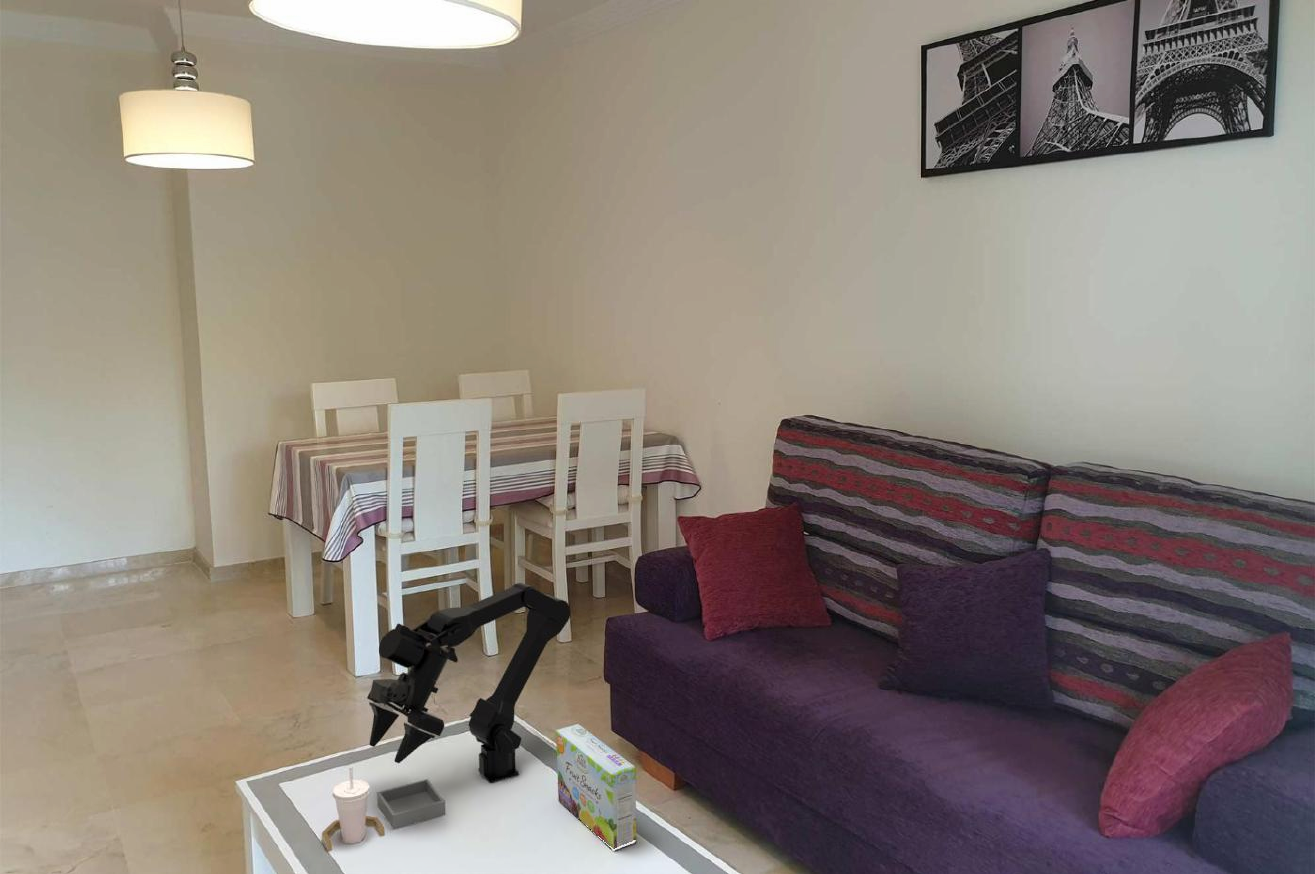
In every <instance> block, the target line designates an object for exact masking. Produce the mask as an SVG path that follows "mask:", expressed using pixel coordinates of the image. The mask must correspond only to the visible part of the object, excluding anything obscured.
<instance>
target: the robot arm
mask: <svg viewBox="0 0 1315 874" xmlns="http://www.w3.org/2000/svg"><path fill="white" fill-rule="evenodd" d="M522 608H525V609H527V610H528V612H527V614H526V631H525V633H524V635H523V637H522V639H521V641H520V642H519V645H518V647H517V648H516V650H515V652H514V654H513V656H512V658H511V660H510V662H509V664H508V666H507V667H506V669H505V671H504V673H503V675H502V677H501V679H500V681H499V683H498V684H497V687H496V688H495V690H494V691H493V693H492V695H490V696H489V697H487V698H486V699H484V698H482V697H480V698H479V699H478V700H477V701H476V704H475V706H474V709H473V710H472V712H471V713H469V717H470V719H469V720H468V727H469V731H470V733H471V735H472V736H474V737H475V740H476V742H478V743H481V745H480V752H479V754H478V769H477V770H478V772H479V774H481V775H482V777H484V778H485V780H486V781H488V783H495V782H498V781H502V780H507V779H509V778H514V777H517V776H519V775H520V772H519V771H518V770H517V769H516V750H517V749H519V748H520V747H521V746H520V745H521V742H522V737H521V736H520V735H519V734H517V733H516V732H514V731H513V730H512V728H513V725H514V722H515V707H516V704H517V701H518V699H519V698H520V695H521V694H522V692H523V689H524V688H525V686H526V685H527V682H528V680H529V679H530V677H531V674H532V672H533V670H534V668H535V667H536V665H537V663H538V661H539V659H540V657H541V656H542V653H543V651H544V650H545V648H546V646H547V644H548V642H550V641H551V640H552V639H553V638H555V637H556V636H557V635H559V634H560V633H561V631H563V630H564V628H565V627H566V625H567V623H568V622H569V620H570V618H571V615H572V612H571V608H570V605H569V603H568V602H567V601H566V600H563V599H561V598H557V597H555V596H553V595H549V594H547V593H543V592H540V591H539V590H537V589H535V587H533V586H531V585H529V584H525V583H522V582H518V583H517V582H516V583H514V584H513V585H512V586H511V587H508V588H506V589H504V590H501V591H499V592H497V593H494V594H493V595H490V596H488V597H485V598H484V599H480V600H479V601H477V602H475V603H474V602H473V603H472V604H470V605H465V606H460V607H459V606H458V607H449V608H445V609H440V610H437V611H435V612H434V613H432V614H431V615H430V617H429V619H427V620H426V621H424V622H422V623H420V624H419V625H417V626H416V627H415V628H412V629H410V628H409V627H407V626H405V625H403V624H401V623H397V624H396V626H395V627H394V628H393V629H391V630H389V631H388V632H387V633H386V634H385V635H383V636H382V638H381V639H380V642H379V645H378V654H379V656H380V657H381V658H383V659H385V660H387V661H388V662H392V663H394V664H396V665H399V666H401V667H403V668H406V669H407V668H408V669H409V670H408V671H407V673H406V672H404V671H403V672H402V673H400V674H399V677H398V678H397V679H391V678H385V679H381V678H380V679H373V680H372V683H371V689H370V691H369V692H368V695H367V697H366V699H368V700H369V702H368V703H369V706H370V707H371V710H372V713H373V719H372V720H373V721H372V726H371V727H372V728H371V733H370V737H369V738H370V739H369V746H370V747H373V748H374V747H376V746H377V744H379V742H380V741H381V740H382V739H383V737H384V736H385V735H386V733H387V732H388V731H389V729H390V728H391V727H392V726H393V724H394V723H395V722H396V720H397V719H398V718H399V716H400V714H402V715H404V716H405V717H407V719H406V720H407V723H406V722H403V727H404V728H403V729H404V736H403V737H402V740H401V741H400V744H399V747H398V750H397V752H396V755H395V756H394V762H395V763H397V764H400V763H402V761H404V760H405V759H406V758H407V757H408V756H410V755H411V754H413V752H415V751H416V750H417V749H418V748H419V747H421V746H422V745H423V744H425V743H426V742H428V741H429V740H431V739H434V738H435V737H436V736H438V737H441V735H442V733H443V731H444V729H445V726H446V725H445V721H444V720H443V719H441V718H440V717H438V716H436V715H435V714H432V713H429V712H428V710H429V708H428V707H426V704H427V702H428V700H429V699H430V696H431V695H432V694H437V693H438V691H439V688H438V687H436V684H437V682H438V680H439V678H440V676H441V674H442V672H443V670H444V668H445V666H446V664H447V663H448V660H449V661H451V662H453V663H458V661H459V659H458V656H457V654H456V648H454V647H457V646H460V645H461V644H463V643H464V642H465V641H467V640H469V639H470V638H472V636H473V635H474V634H475V632H476V631H477V630H479V628H481V627H482V626H485V625H487V624H489V623H491V622H494V621H496V620H499V619H500V618H502V617H504V616H507V615H508V614H511V613H513V612H516V611H518V610H520V609H522ZM395 711H396V712H395ZM397 712H398V713H400V714H398V713H397Z"/></svg>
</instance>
